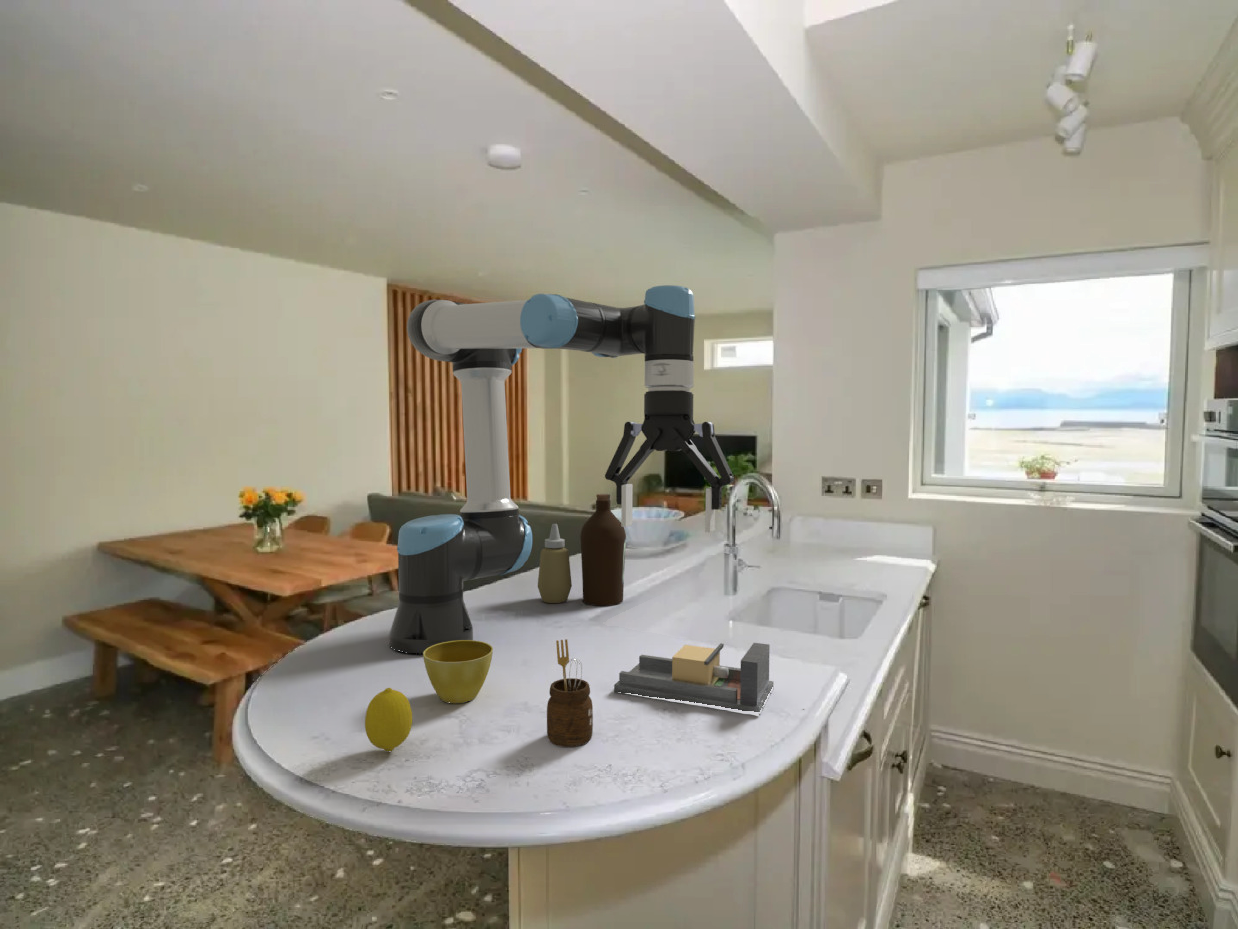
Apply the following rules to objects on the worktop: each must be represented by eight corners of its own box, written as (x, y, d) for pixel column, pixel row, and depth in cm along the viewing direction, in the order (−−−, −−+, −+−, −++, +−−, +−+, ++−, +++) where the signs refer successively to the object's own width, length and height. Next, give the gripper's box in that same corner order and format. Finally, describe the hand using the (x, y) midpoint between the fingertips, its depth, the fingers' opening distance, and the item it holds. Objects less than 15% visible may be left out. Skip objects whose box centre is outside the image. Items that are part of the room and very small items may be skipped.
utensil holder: (555, 752, 84) (555, 656, 84) (540, 731, 90) (540, 642, 89) (599, 744, 87) (599, 650, 86) (582, 724, 92) (582, 637, 92)
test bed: (614, 692, 104) (614, 645, 103) (640, 669, 114) (640, 626, 113) (759, 716, 95) (759, 665, 95) (773, 689, 105) (774, 643, 105)
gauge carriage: (669, 689, 101) (669, 656, 101) (687, 669, 110) (687, 639, 109) (719, 697, 98) (719, 663, 98) (734, 676, 107) (734, 645, 106)
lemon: (372, 742, 87) (371, 680, 86) (416, 741, 87) (416, 679, 87) (359, 763, 81) (358, 697, 81) (407, 761, 82) (406, 696, 81)
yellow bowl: (477, 714, 96) (477, 664, 95) (411, 708, 97) (410, 659, 97) (502, 687, 106) (502, 642, 105) (441, 683, 107) (441, 638, 107)
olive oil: (588, 608, 153) (588, 497, 151) (574, 597, 162) (574, 493, 161) (632, 604, 156) (632, 495, 155) (616, 594, 166) (617, 491, 165)
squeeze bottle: (574, 597, 163) (574, 522, 162) (568, 605, 155) (568, 527, 154) (541, 596, 164) (541, 521, 163) (533, 604, 156) (533, 526, 155)
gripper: (584, 390, 106) (584, 526, 107) (744, 387, 96) (741, 537, 97) (604, 392, 113) (604, 520, 114) (755, 390, 103) (753, 530, 104)
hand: (667, 528), depth 105 cm, fingers open, 13 cm apart
